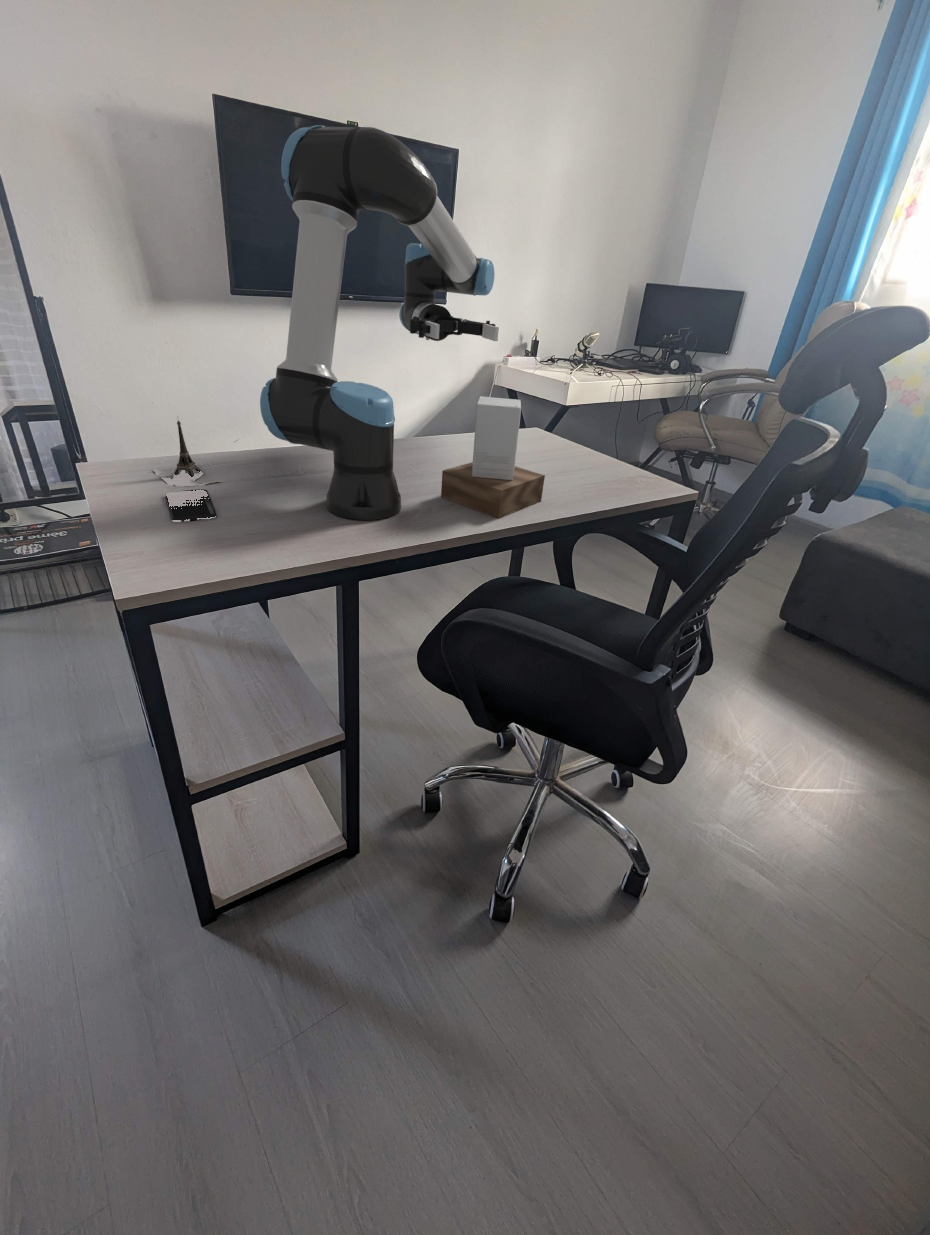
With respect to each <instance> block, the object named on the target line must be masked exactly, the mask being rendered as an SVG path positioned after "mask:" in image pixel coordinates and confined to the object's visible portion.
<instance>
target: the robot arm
mask: <svg viewBox="0 0 930 1235" xmlns="http://www.w3.org/2000/svg"><path fill="white" fill-rule="evenodd" d="M280 164H281V166H280V167H281V169H280V170H281V178H282V179H283V180H284V183H283V186H284V190H285V192H286V194H287V196H288V197H289V198H290V200H291V201H292V205H291V206H292V207H291V208H292V210H293V212H294V213H295V215H296V217H297V218H298V220H299V223H298V224H299V225H298V235H297V243H296V255H295V265H294V272H293V273H294V274H293V286H292V287H293V288H292V294H291V296H292V297H291V305H290V315H289V316H290V317H289V326H288V335H287V336H288V337H287V345H286V356H285V359H284V361H282V362H281V363H279V365H277V366H276V373H275V377H273V378H271V379H269V380H267V381H266V383H265V386H263V387H262V389H261V393H260V400H259V405H260V406H259V409H260V414H261V417H262V420H263V422H264V425H265V426H266V427H267V429H268V431H269V432H270V434H272V435H273V436H274V437H275V438H277V439H279V440H282V441H286V442H288V443H290V444H293V445H302V446H307V447H311V448H317V449H321V450H325V451H326V450H327V451H332V453H333V454H332V455H333V472H332V475H331V476H332V477H331V481H330V485H329V489H328V491H327V493H326V496H325V497H326V498H325V500H326V509H327V510H328V512H330V513H332V514H333V515H336V516H337V517H341V518H345V519H350V520H359V521H373V520H375V521H376V520H382V519H386V518H390V517H393V516H396V515H397V514H399V513H400V511H401V509H402V495H401V493H400V492H399V487H398V483H397V480H396V477H395V473H394V441H395V440H394V439H395V438H394V437H395V436H394V435H395V433H394V432H395V431H394V430H395V421H396V417H395V410H394V409H395V408H394V400H393V398H392V397H391V395H390V393H388V392H387V391H385V390H384V389H382V388H380V387H378V386H375V385H372V384H368V383H363V382H355V381H345V380H344V381H339V380H338V378H337V376H336V375H335V373H334V372H333V371H332V370H333V369H332V364H333V358H334V346H335V341H336V340H335V338H336V330H337V321H338V316H339V308H340V307H339V306H340V297H341V288H342V280H343V273H344V263H345V255H346V247H347V238H348V235H349V234H350V233H351V232H353V230H355V229H357V226H358V219H359V212H360V211H375V212H382V213H385V214H389V215H390V216H392V217H393V218H394V220H396V221H397V222H398V223H399V224H401V225H404V226H407V227H408V228H409V229H410V230H411V232H412V233H413V234H414V236H415V237H416V238H417V239H418V241H420V243H416V242H415V243H413V242H410V243H409V244H408V245H406V251H405V261H404V295H403V296H404V300H403V302H402V305H401V306H400V308H399V315H398V316H399V320H400V323H401V325H402V327H404V329H406V330H407V331H408V332H409V334H412V335H415V334H416V335H418V338H423V339H424V338H425V340H426V341H429V340H431V341H435V342H440V341H443V340H445V339H447V337H448V336H452V335H454V336H462V335H463V334H465V335H472V336H479V337H481V338H483V339H487V340H489V341H492V342H498V341H499V331H500V330H499V329H500V327H499V326H496V325H497V324H495V323H491V321H490V320H486V322H480V321H474V320H469V319H466V318H464V319H463V318H462V317H454V316H453V315H452V314H451V313H450V311H449V309H447V308H446V307H444V306H442V305H439V304H436V303H435V302H436V292H442V293H444V292H445V293H451V294H461V295H470V296H474V297H476V296H488V295H489V294H490V293H491V291H492V290H493V287H494V282H495V267H494V263H493V261H492V260H490V259H487V258H483V257H477V256H476V255H475V253H474V252H473V250H472V248H471V246H470V245H469V244H468V241H467V240H466V239H465V237H464V236H463V233H462V232H461V231H460V229H459V228H458V226H457V225H456V223H455V221H454V220H453V218H452V216H451V215H450V213H449V211H448V210H447V209H446V207H445V206H444V204H443V202H442V201H441V199H440V198H439V196H438V188H437V187H438V186H437V183H436V181H435V179H434V177H433V176H432V174H431V172H430V171H429V169H428V168H427V167H426V165H425V164H424V162H422V160H421V159H420V158H419V156H417V155H416V154H415V153H414V152H413V151H412V150H411V149H410V148H409V147H408V146H407V145H405V144H404V143H403V142H402V141H401V140H399V139H398V138H396V137H395V136H393V135H392V134H390V133H388V132H386V131H384V130H382V129H378V128H376V127H371V126H362V127H359V126H358V127H357V126H356V127H355V126H353V127H351V126H350V127H349V126H325V125H321V124H320V125H319V124H318V125H317V124H316V125H312V126H308V127H307V126H306V127H300V128H298V129H296V130H295V131H294V132H292V133H291V134H290V135H289V137H288V138H287V140H286V142H285V144H284V147H283V150H282V155H281V163H280Z"/></svg>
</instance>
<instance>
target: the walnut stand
mask: <svg viewBox="0 0 930 1235" xmlns="http://www.w3.org/2000/svg"><path fill="white" fill-rule="evenodd" d="M472 465H473V461H472V462H469V463H464V464H460V465H458V466H454V467H451V468H447V469H443V470H442V471H441V473H442V474H441V491H440V498H442V499H445V500H447V501H450V502H452V503H456V504H458V505H461V506H464V507H466V508H469V509H471V510H475V511H477V512H480V513H482V514H485V515H488V516H490V517H493V518H496V519H501V518H503V517H506V516H508V515H511V514H514V513H516V512H518V511H521V510H523V509H525V508H529V507H531V506H533V505H536V504H538V503H541V502H542V499H543V491H544V490H543V489H544V483H545V478H546V475H544V474H541V473H538V472H535V471H532V470H528V469H525V468H522V467H518V466H515V467H514V475H513V480H502V479H491V478H481V477H472Z"/></svg>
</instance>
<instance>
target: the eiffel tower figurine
mask: <svg viewBox="0 0 930 1235" xmlns="http://www.w3.org/2000/svg"><path fill="white" fill-rule="evenodd" d="M177 418H179V416H178V415H177ZM176 426H177V429H178V438H179V458H178V459H179V460H178V463H177V464H176V469H175V471H174V473H173V474H175V475H177V474H179V473H180V472H181V470H185V471H186V472H188V474H189V475H190V476H191V477H193V476H194V473H195V472H194V470H195V471H196V472H197V471H199V472H200V471H202V470H201V469H200V467H198V466H197V465H196V462H195V461H194V460H193V459H192V457H191V455H190V452H189V451H188V448H187V446H186V445H187V444H186V442H185V439H184V438H185V437H184V434H183V430H182V424H181V421H180V420H179V419H177V422H176Z"/></svg>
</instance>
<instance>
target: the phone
mask: <svg viewBox="0 0 930 1235" xmlns="http://www.w3.org/2000/svg"><path fill="white" fill-rule="evenodd" d="M200 489H201V488H199V489H186V490H184V491H189V490H190V491H193V490H195V491H196V490H200ZM201 490H204V491H206V492H207V494H208V496H207V497H204V496H203V497H201V498H203V499H200V500H198V501H200V503H199V502H197V503H196V506H195V505H194V506H192V504H193V503H192V502H191V505H190V506H189V504H190V502H189V503H187V502H186V504H188V506H187V505H186V506H182V507H181V506H180V507H178V506H174V507H173V506H172V507H171V506H170V507H169V502H168V498H167V496H166V495H165V500H166V499H167V502H166V504H167V503H168V504H167V507H169V508H168V511H169V515H170V516H171V517H170V520H171V519H172V520H186V519H187V520H188V519H191V520H196V519H195V518H207V517H208V518H210V517H215V516H217V511H216V509H215V507H214V504H213V501H212V499H211V497H210V494H209V490H207V489H203V488H202V489H201ZM204 498H206V499H204ZM208 498H209V499H208ZM186 501H189V500H186ZM190 501H191V500H190ZM194 501H195V500H194ZM196 501H197V499H196ZM201 501H203V502H202V503H201ZM183 504H185V503H183ZM194 504H195V502H194ZM197 504H200V505H198V506H197ZM201 504H202V505H201ZM171 508H172V509H171ZM174 508H175V509H174ZM176 508H177V509H176ZM181 508H182V509H181Z"/></svg>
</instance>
